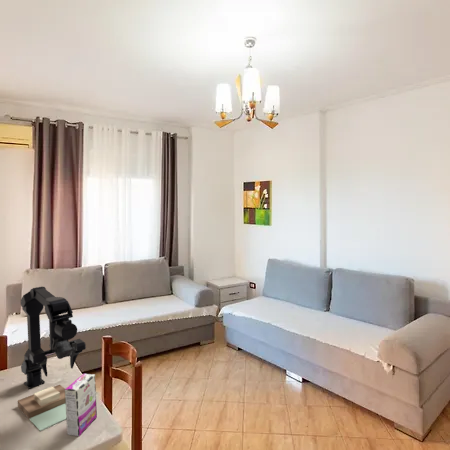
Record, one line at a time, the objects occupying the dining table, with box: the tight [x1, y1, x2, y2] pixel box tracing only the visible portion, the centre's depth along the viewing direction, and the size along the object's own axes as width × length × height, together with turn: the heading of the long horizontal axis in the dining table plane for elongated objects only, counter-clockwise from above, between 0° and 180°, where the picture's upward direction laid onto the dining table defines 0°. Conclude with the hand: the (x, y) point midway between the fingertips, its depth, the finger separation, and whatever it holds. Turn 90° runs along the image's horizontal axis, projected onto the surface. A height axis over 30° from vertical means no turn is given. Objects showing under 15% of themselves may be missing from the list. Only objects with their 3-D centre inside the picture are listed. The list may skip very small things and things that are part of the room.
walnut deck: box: [17, 384, 66, 419], centre depth 138 cm, size 12×16×2 cm
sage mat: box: [29, 403, 67, 432], centre depth 131 cm, size 10×16×1 cm, turn 138°
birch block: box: [33, 386, 60, 406], centre depth 137 cm, size 7×7×2 cm
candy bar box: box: [65, 373, 98, 437], centre depth 124 cm, size 11×5×16 cm, turn 168°
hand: (59, 372), depth 134 cm, fingers open, 9 cm apart
